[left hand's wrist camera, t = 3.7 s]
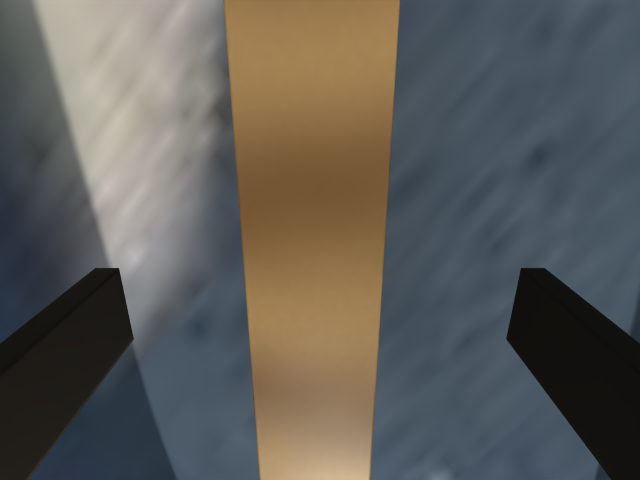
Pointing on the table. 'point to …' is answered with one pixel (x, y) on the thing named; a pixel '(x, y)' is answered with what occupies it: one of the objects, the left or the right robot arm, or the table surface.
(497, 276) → the table surface
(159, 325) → the table surface
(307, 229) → the post
